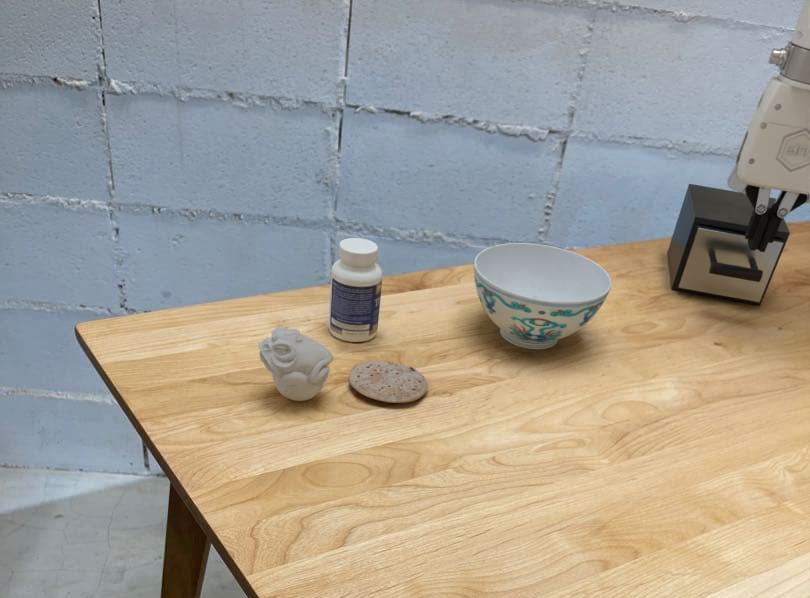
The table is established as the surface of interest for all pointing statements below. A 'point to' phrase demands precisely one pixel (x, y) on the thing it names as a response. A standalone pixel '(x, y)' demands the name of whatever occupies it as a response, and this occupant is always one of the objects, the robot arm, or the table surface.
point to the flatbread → (388, 382)
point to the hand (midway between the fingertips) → (755, 246)
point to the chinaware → (538, 291)
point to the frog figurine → (295, 363)
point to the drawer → (728, 264)
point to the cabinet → (717, 212)
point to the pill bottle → (355, 291)
